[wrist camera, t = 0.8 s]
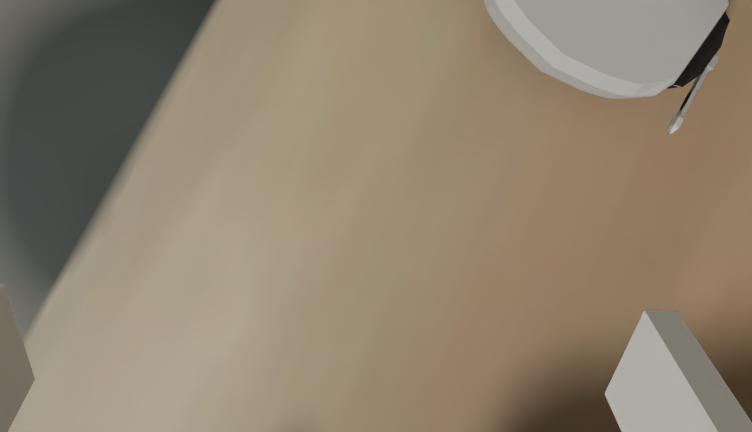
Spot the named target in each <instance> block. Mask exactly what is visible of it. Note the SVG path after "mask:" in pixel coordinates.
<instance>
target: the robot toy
mask: <svg viewBox="0 0 752 432" xmlns="http://www.w3.org/2000/svg"><path fill="white" fill-rule="evenodd" d="M483 1H484V3H485V6H486V9H487V12H488V13H489V15H490V17H491V18H492V20H493V21H494V23H495V24H496V25H497V27H498V28H499V29H500V30H501V32H502V33H503V34H504V35H505V37H506V38H507V39H508V40H509V41H510V42H511V43H512V44H513V45H514V46H515V47H516V48H517V49H518V50H519V51H520V52H521V53H522V54H523V55H524V56H525V57H526V58H528V59H529V60H530V61H531V62H532V63H533V64H534V65H535V66H536V67H537V68H538V69H539V70H540V71H541V72H544V73H546V74H548V75H550V76H552V77H554V78H556V79H558V80H560V81H563V82H565V83H567V84H569V85H571V86H573V87H575V88H577V89H580V90H582V91H585V92H588V93H592V94H595V95H598V96H601V97H606V98H611V99H624V98H640V97H648V96H655V95H657V94H658V93H660V92H662V91H663V90H665V89H666V88H676V87H683V86H685V85H686V84H687V83H689V82H690V81H692V80H693V79H695V78H696V77H697V76H698V77H697V78H696V80H695V82H694V84H693V86H692V88H691V89H690V91H689V93H688V95H687V97H686V98H685V100H684V102H683V104H682V106H681V108H680V109H679V111H678V113H677V115H676V117H674V118H673V119H672V121H671V123H670V125H669V126H668V128H669V134H671V133H673V132H674V131H676V130H677V129H678V128H679V127H680V125H681V123H682V122H683V120H684V119H683V117H684V115H685V113H686V111H687V109H688V108H689V106H690V104H691V102H692V100H693V99H694V97H695V95H696V93H697V91H698V89H699V88H700V86H701V84H702V82H703V80H704V78H705V77H706V75H707V73H708V71H710V70H712V69H714V67H715V65H716V63H717V61H718V60H719V57H717V56H716V55H715V54H716V53H717V51H718V50H719V48H720V47H721V45H722V41H723V38H724V34H725V32H726V29H727V26H728V24H729V21H730V20H729V18H728V16H727V15H726V13H725V10H726V9H727V7H728V6H729V1H730V0H483Z"/></svg>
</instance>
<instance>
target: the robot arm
mask: <svg viewBox="0 0 752 432" xmlns="http://www.w3.org/2000/svg"><path fill="white" fill-rule="evenodd" d="M34 380H35V378H34V375H33V372H32V369H31V366H30V362H29V359H28V356H27V353H26V350H25V347H24V344H23V340H22V337H21V334H20V331H19V328H18V325H17V322H16V318H15V315H14V312H13V309H12V306H11V303H10V299H9V296H8V293H7V290H6V287H5V284H0V432H8V430H9V428H10V426H11V424H12V422H13V420H14V418H15V416H16V414H17V412H18V411H19V409H20V407H21V405H22V403H23V401H24V399H25V397H26V395H27V393H28V391H29V389H30V387H31V386H32V384H33V382H34ZM605 396H606V398H607V401H608V403H609V405H610V407H611V409H612V412H613V414H614V416H615V418H616V421H617V423H618V425H619V427H620V429H621V432H752V422H751V420H750V419H749V417H748V416H747V414H746V413H745V411H744V410H743V408H742V407H741V405H740V404H739V402H738V401H737V399H736V398H735V396H734V395H733V393H732V392H731V390H730V389H729V387H728V386H727V384H726V383H725V381H724V380H723V378H722V377H721V375H720V374H719V372H718V371H717V369H716V368H715V366H714V365H713V363H712V362H711V360H710V359H709V357H708V356H707V354H706V353H705V351H704V350H703V348H702V347H701V345H700V344H699V342H698V341H697V339H696V338H695V336H694V335H693V334H692V332H691V331H690V329H689V328H688V326H687V325H686V323H685V322H684V320H683V319H682V317H681V316H680V314H679V313H678V311H653V310H644V312H643V314H642V316H641V319H640V321H639V323H638V325H637V327H636V329H635V331H634V333H633V335H632V337H631V339H630V342H629V344H628V346H627V348H626V350H625V352H624V354H623V356H622V358H621V360H620V362H619V364H618V367H617V369H616V371H615V373H614V375H613V377H612V379H611V381H610V383H609V385H608V387H607V390H606V392H605Z"/></svg>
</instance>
